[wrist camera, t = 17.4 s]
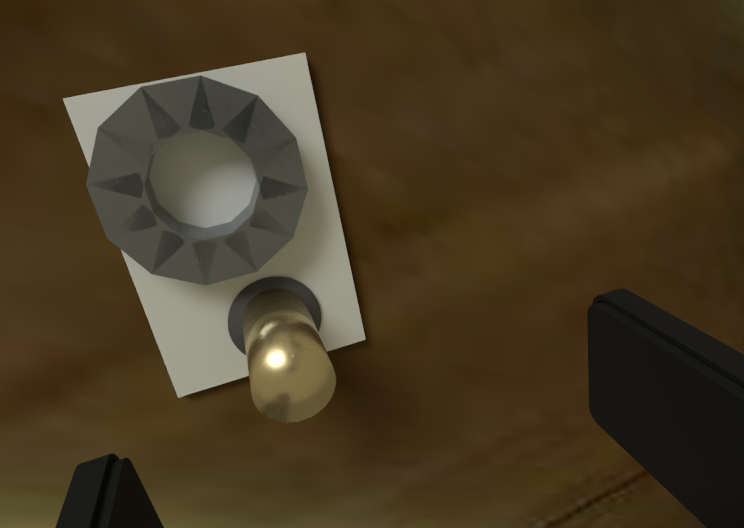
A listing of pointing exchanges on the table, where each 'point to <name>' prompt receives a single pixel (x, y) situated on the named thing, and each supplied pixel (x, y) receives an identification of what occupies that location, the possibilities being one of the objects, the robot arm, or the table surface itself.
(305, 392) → the brass round-ended cylinder
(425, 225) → the table surface
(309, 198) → the base plate
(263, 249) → the ring
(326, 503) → the table surface
